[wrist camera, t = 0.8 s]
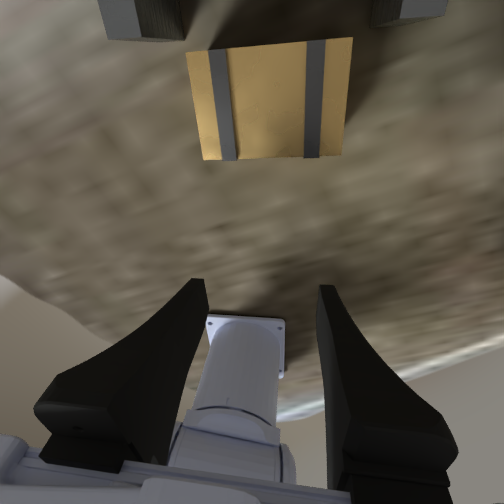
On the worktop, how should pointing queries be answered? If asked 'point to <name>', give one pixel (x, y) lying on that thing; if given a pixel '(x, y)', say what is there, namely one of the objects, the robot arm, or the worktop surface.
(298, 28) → the worktop surface
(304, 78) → the block
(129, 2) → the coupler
